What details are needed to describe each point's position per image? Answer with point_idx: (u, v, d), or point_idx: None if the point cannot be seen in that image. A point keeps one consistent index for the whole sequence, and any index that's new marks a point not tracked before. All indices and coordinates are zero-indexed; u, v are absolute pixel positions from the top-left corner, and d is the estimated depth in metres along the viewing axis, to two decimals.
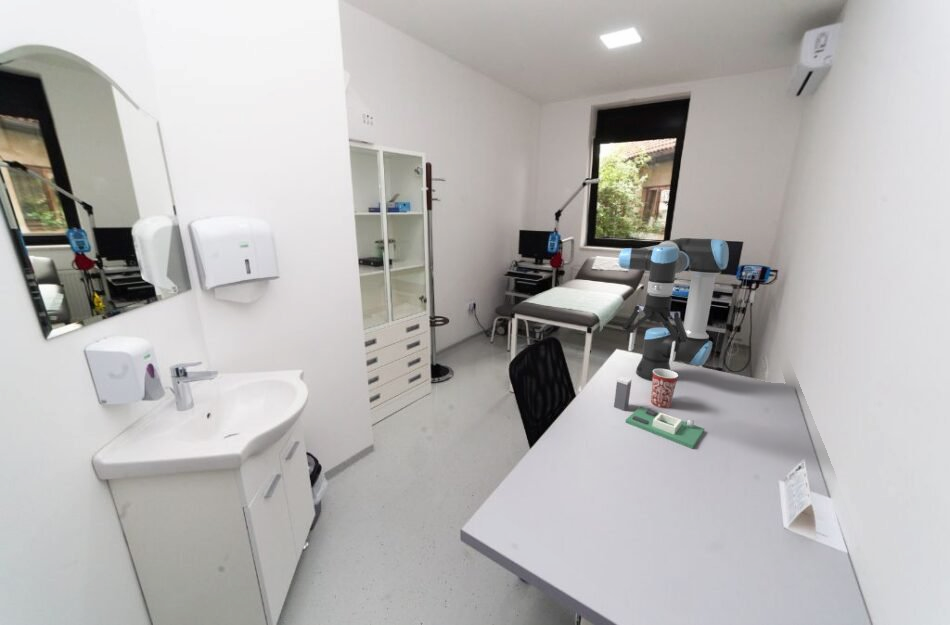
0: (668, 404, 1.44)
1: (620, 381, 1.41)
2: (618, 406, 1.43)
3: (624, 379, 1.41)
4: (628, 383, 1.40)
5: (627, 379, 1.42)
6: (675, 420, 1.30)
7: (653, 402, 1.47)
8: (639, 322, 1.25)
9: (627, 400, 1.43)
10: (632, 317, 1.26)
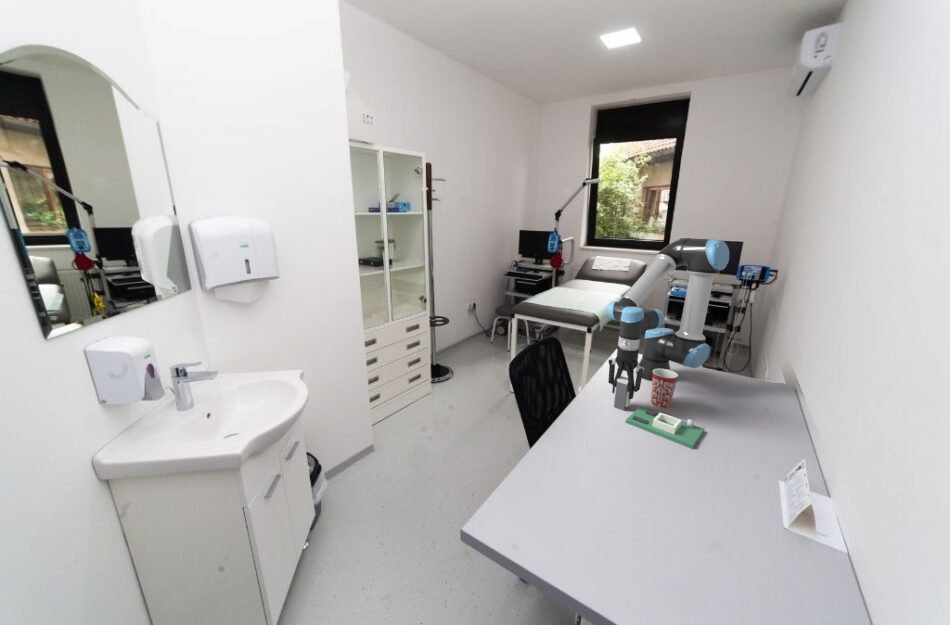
0: (668, 404, 1.44)
1: (620, 381, 1.41)
2: (618, 406, 1.43)
3: (624, 379, 1.41)
4: (628, 383, 1.40)
5: (627, 379, 1.42)
6: (675, 420, 1.30)
7: (653, 402, 1.47)
8: (617, 374, 1.42)
9: None
10: (611, 370, 1.44)
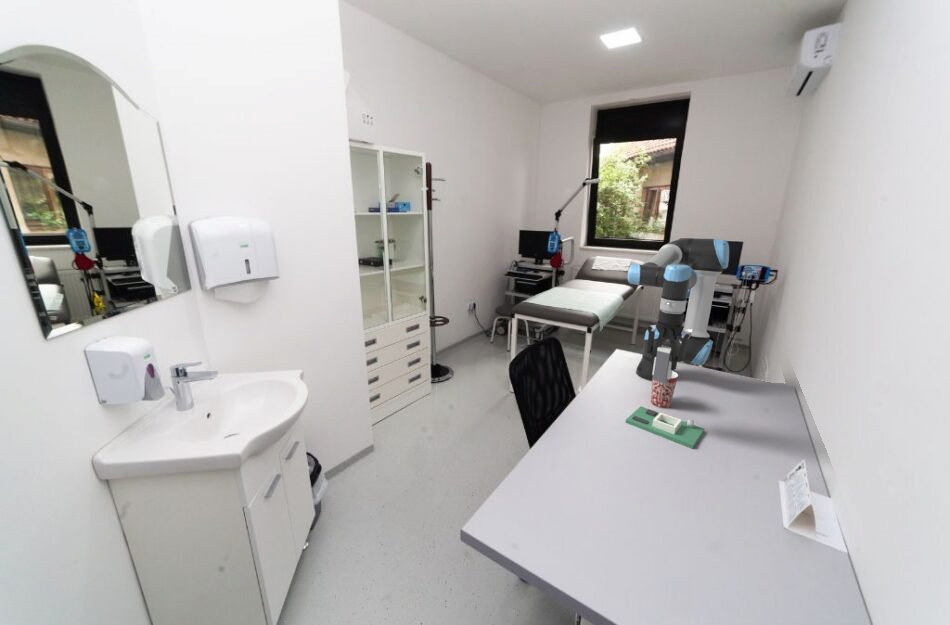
0: (668, 404, 1.44)
1: (661, 350, 1.25)
2: (658, 379, 1.27)
3: (665, 348, 1.25)
4: (670, 352, 1.24)
5: (669, 348, 1.25)
6: (675, 420, 1.30)
7: (653, 402, 1.47)
8: (658, 342, 1.26)
9: None
10: (650, 338, 1.28)
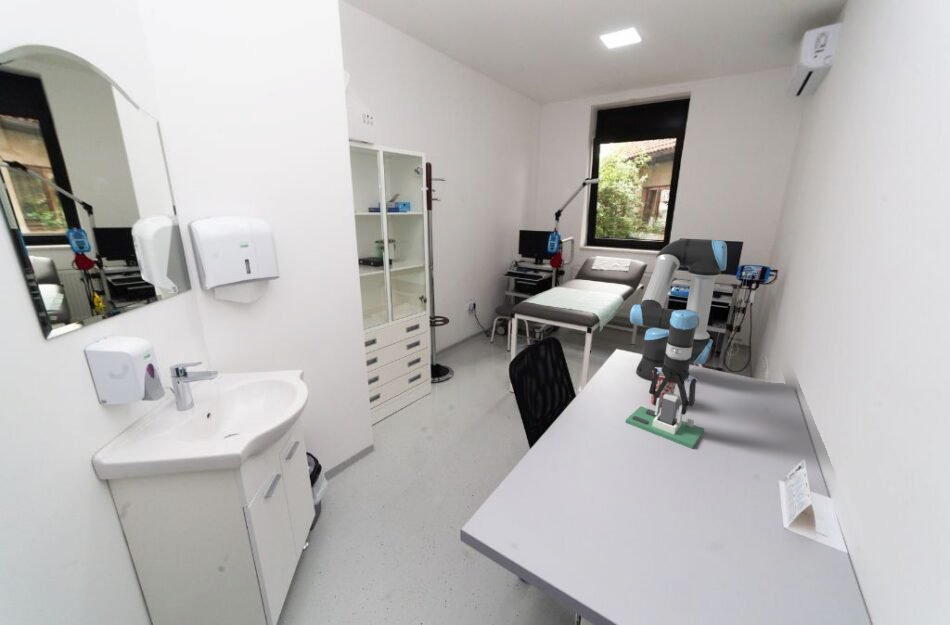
0: None
1: (667, 398, 1.26)
2: None
3: (671, 396, 1.26)
4: (676, 400, 1.25)
5: (675, 395, 1.26)
6: (675, 420, 1.30)
7: None
8: (662, 385, 1.27)
9: (674, 419, 1.27)
10: (654, 380, 1.28)
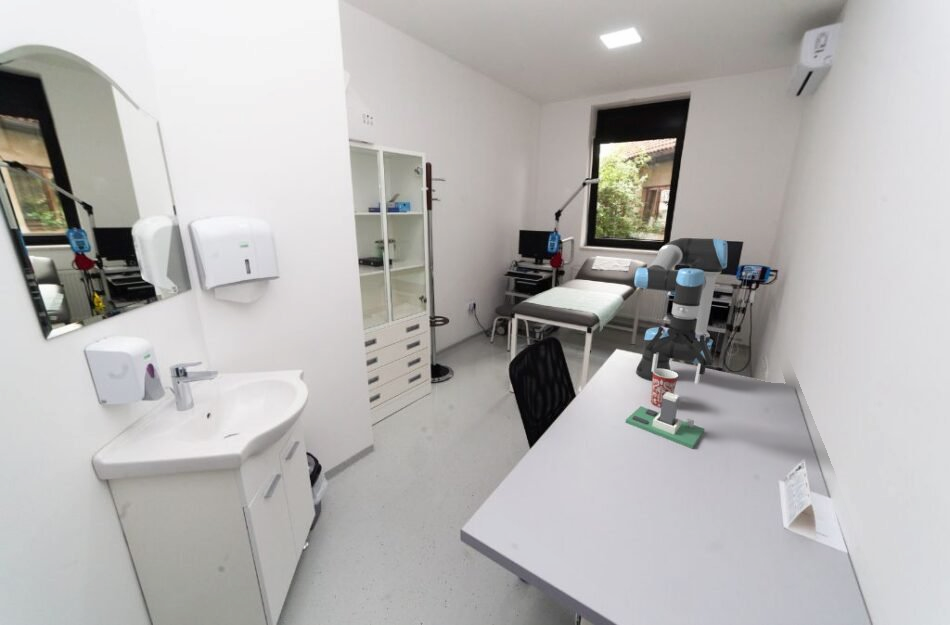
0: None
1: (667, 398, 1.26)
2: None
3: (671, 396, 1.26)
4: (676, 400, 1.25)
5: (674, 395, 1.26)
6: (675, 420, 1.30)
7: (653, 402, 1.47)
8: (663, 343, 1.24)
9: (674, 419, 1.28)
10: (656, 338, 1.26)
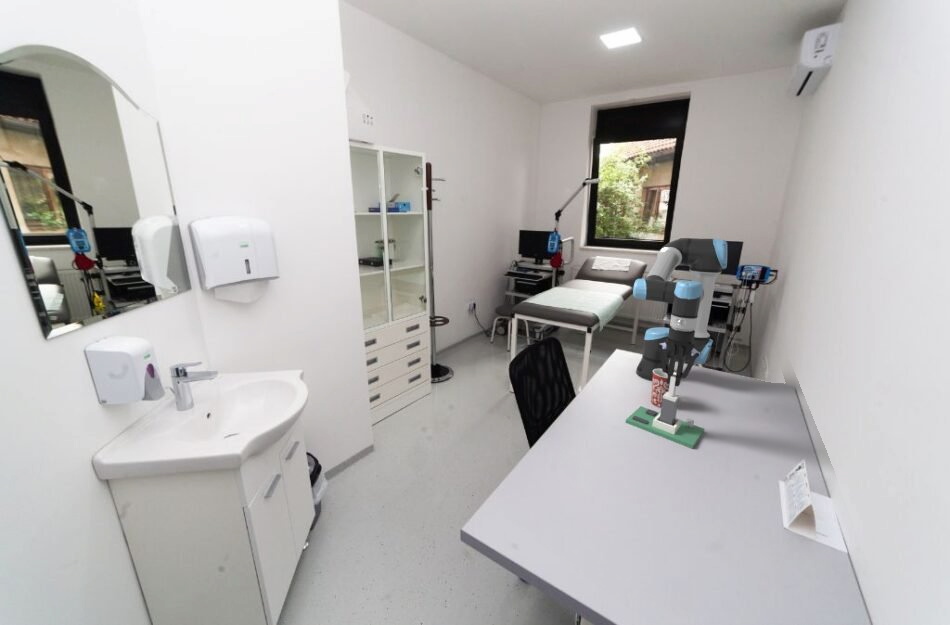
0: None
1: (667, 398, 1.26)
2: None
3: (671, 396, 1.26)
4: (676, 400, 1.25)
5: (674, 395, 1.26)
6: (675, 420, 1.30)
7: (653, 402, 1.47)
8: (671, 361, 1.23)
9: (674, 419, 1.28)
10: (663, 357, 1.25)
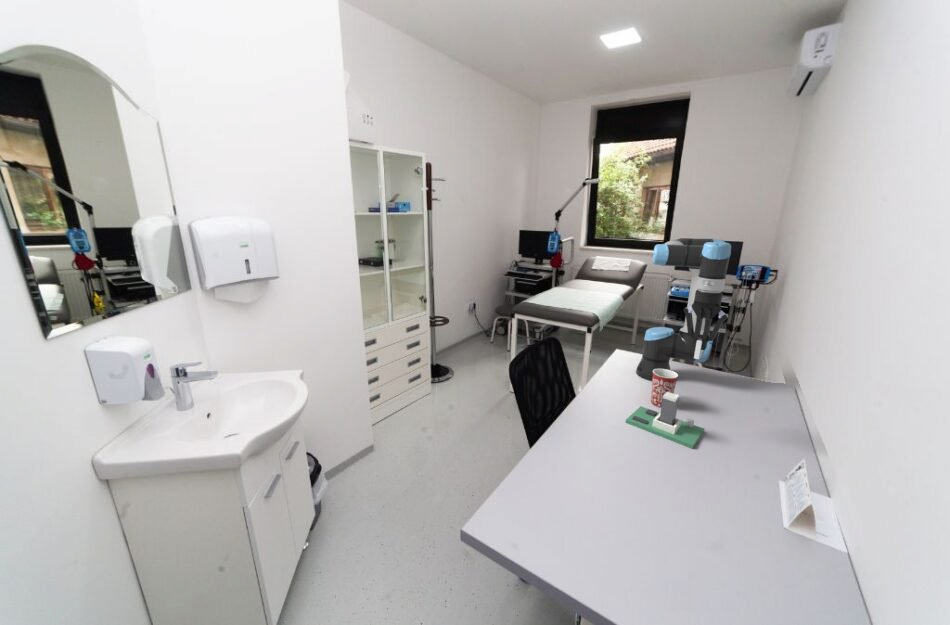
0: None
1: (667, 398, 1.26)
2: None
3: (671, 396, 1.26)
4: (676, 400, 1.25)
5: (674, 395, 1.26)
6: (675, 420, 1.30)
7: (653, 402, 1.47)
8: (697, 324, 1.22)
9: (674, 419, 1.28)
10: (689, 320, 1.24)
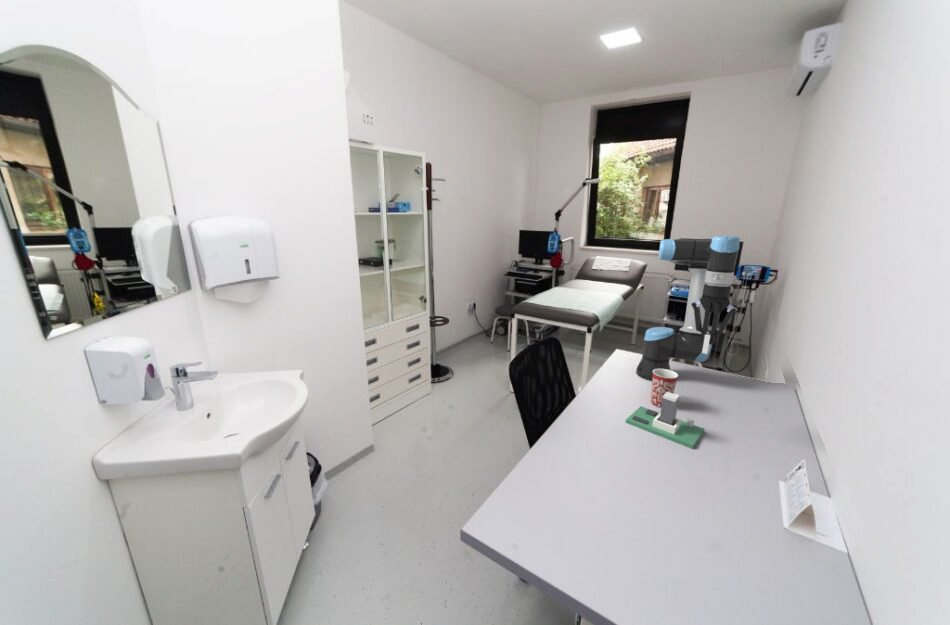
0: None
1: (667, 398, 1.26)
2: None
3: (671, 396, 1.26)
4: (676, 400, 1.25)
5: (674, 395, 1.26)
6: (675, 420, 1.30)
7: (653, 402, 1.47)
8: (706, 318, 1.22)
9: (674, 419, 1.28)
10: (697, 315, 1.24)
